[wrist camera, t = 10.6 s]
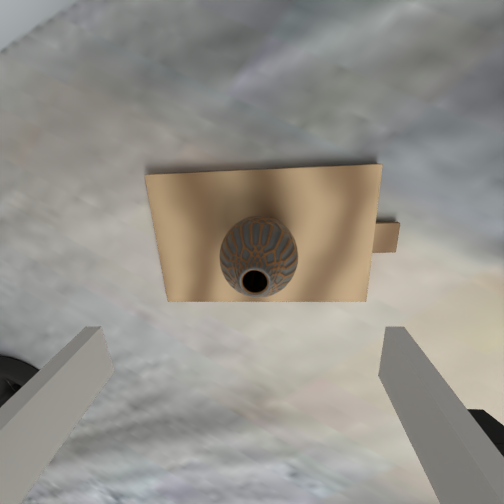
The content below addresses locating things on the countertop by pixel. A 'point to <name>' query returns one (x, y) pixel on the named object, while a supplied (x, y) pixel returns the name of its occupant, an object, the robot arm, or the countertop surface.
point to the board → (282, 209)
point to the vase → (258, 256)
